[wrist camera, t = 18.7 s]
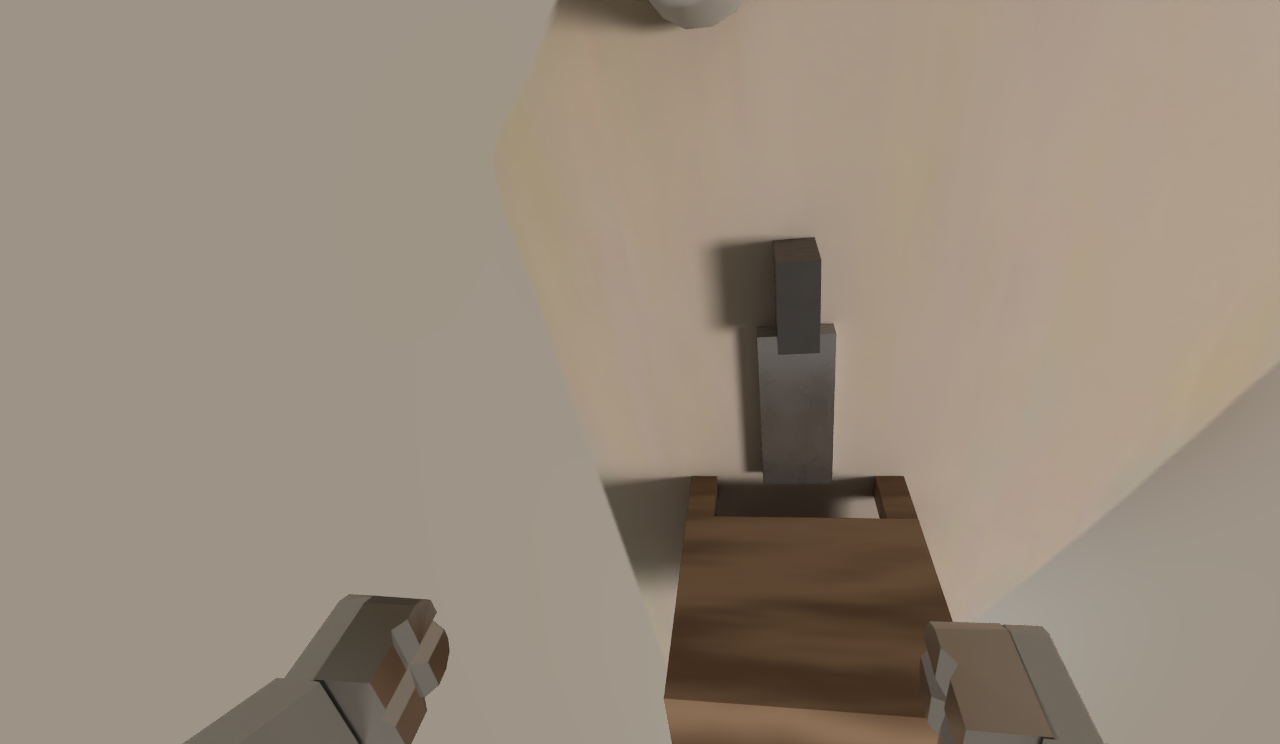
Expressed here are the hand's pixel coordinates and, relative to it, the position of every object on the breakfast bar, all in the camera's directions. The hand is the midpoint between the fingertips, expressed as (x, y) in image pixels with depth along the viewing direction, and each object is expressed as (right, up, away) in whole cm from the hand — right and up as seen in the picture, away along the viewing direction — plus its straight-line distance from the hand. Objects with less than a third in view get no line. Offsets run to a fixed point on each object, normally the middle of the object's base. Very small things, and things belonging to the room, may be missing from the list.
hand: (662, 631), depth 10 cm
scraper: (+11, +5, +32) cm, 34 cm away
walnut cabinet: (+12, -8, +39) cm, 42 cm away
